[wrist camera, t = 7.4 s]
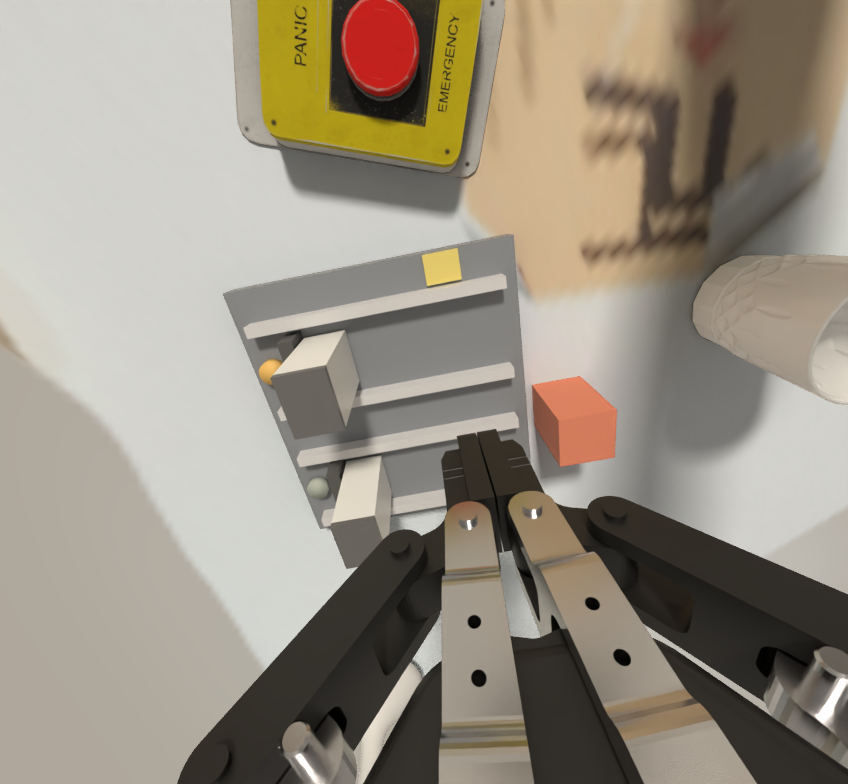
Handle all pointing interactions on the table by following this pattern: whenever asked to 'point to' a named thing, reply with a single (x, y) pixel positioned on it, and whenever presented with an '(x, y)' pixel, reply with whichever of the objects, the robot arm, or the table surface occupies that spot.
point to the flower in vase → (386, 719)
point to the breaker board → (399, 362)
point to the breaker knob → (361, 509)
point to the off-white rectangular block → (317, 385)
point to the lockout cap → (574, 421)
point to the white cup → (782, 317)
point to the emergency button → (368, 78)
